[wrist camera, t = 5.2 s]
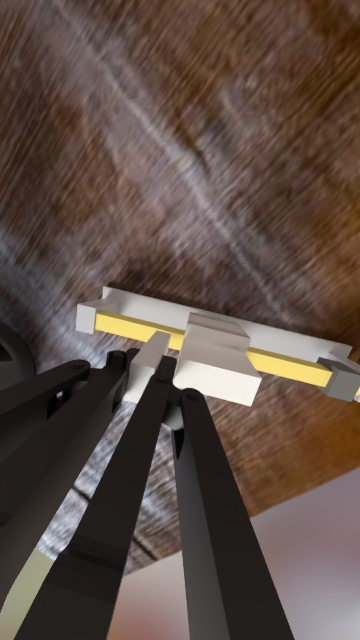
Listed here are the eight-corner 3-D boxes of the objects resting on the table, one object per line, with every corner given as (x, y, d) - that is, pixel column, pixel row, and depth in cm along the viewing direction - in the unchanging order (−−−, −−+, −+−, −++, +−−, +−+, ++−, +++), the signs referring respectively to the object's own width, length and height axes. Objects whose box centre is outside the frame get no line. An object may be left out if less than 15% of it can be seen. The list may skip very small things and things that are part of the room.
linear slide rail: (101, 325, 26) (70, 341, 19) (106, 286, 24) (74, 288, 18) (327, 382, 24) (374, 419, 18) (347, 344, 23) (405, 370, 17)
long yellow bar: (97, 325, 21) (82, 333, 18) (100, 302, 21) (84, 306, 18) (354, 390, 20) (380, 409, 17) (367, 368, 20) (396, 384, 17)
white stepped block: (179, 352, 23) (168, 403, 13) (189, 311, 21) (184, 337, 12) (224, 363, 22) (243, 423, 13) (237, 323, 21) (269, 358, 12)
